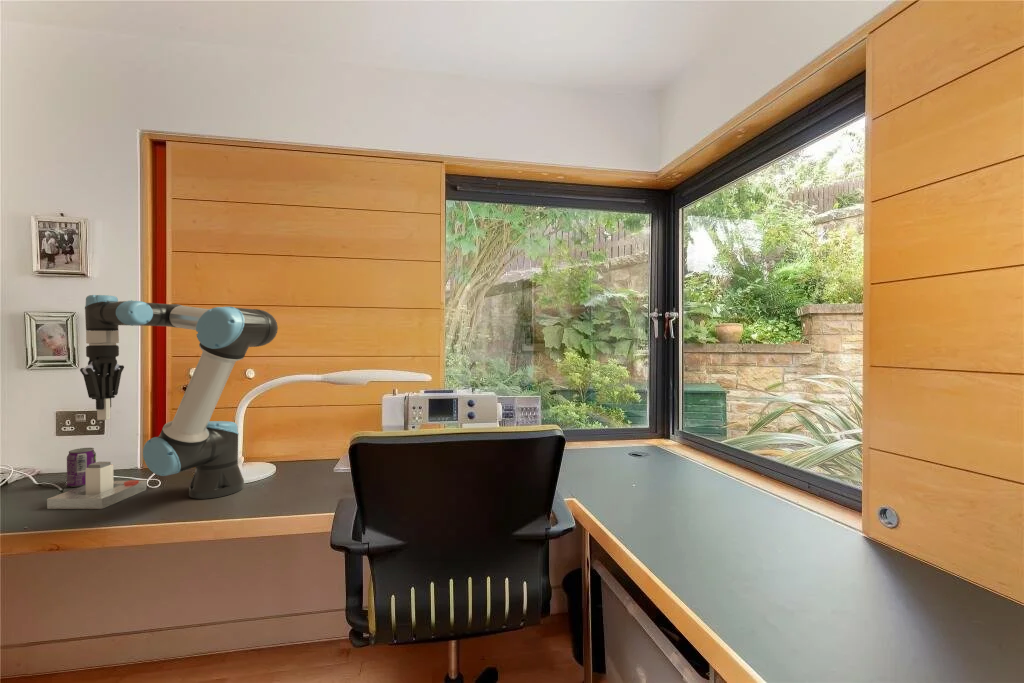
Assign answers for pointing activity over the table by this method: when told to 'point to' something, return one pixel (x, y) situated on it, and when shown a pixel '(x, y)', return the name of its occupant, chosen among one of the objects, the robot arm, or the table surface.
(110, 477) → the plug
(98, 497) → the socket block
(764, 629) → the table surface
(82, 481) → the beverage can
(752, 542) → the table surface
